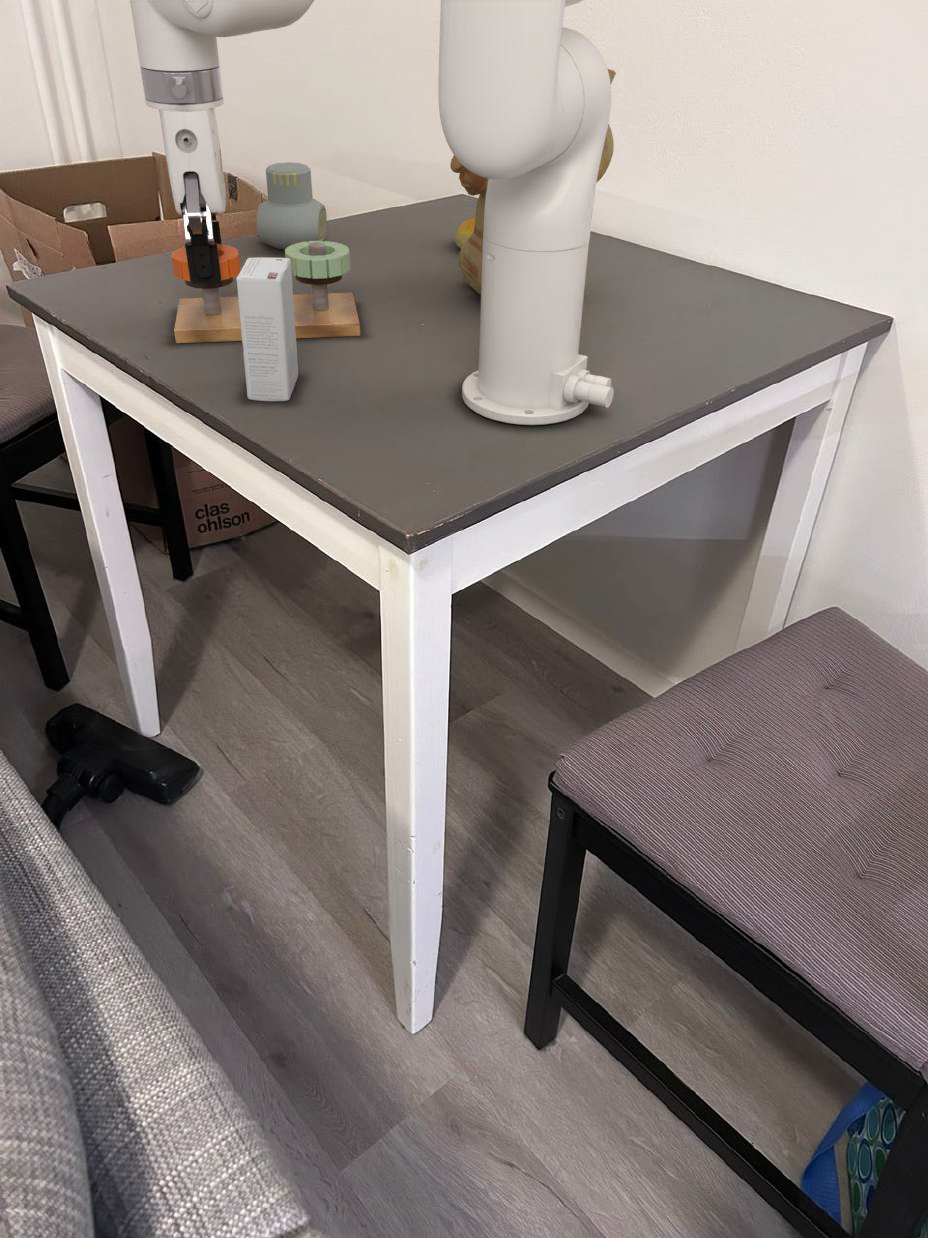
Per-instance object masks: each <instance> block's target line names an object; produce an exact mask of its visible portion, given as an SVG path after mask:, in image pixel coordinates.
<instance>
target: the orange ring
mask: <svg viewBox="0 0 928 1238" xmlns="http://www.w3.org/2000/svg"><path fill="white" fill-rule="evenodd" d="M217 248H218V256H219V264H220V271H221V281H222V280H226V279H230V278H233V279H234V278H235V277H237V276H238V275H239V273H240V271H241V262H240V261H241V260H240V254H239V250H238V248H236V247H234V246H232V245H228V244H223V243H222V244H217ZM171 262H172V268H173V274H174V276H175V277H177V278H178V279H180V280H181V281H184V282H185V281H190V275H189V269H188V262H187V255H186V248H185V246H183V247H182V246H181V247H179V248H177V249H175V250H173V251H172V253H171Z"/></svg>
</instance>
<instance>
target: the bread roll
mask: <svg viewBox="0 0 928 1238" xmlns="http://www.w3.org/2000/svg"><path fill="white" fill-rule="evenodd" d="M474 226H475V217H471V218H469V219H467V220H464V221H463V222H462V223H460V225H459V226H458V227H457V228H456V230H455V234H454V235H455V244H456V246H457V247H458V248H459V249H460V250H461V248H462V246H463V245H464V243H465V242H466V241H467V240H468V239H469V238H470V236H471V235H472V233H473V231H474Z"/></svg>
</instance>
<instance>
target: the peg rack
mask: <svg viewBox="0 0 928 1238" xmlns="http://www.w3.org/2000/svg"><path fill="white" fill-rule="evenodd" d="M309 255H311V256H320V255H326V253H325V244H324V243H320V242H313V243H310V244H309ZM294 278H295V280H296V281H297V282H299V283H302V284H304V285H310V286H311V293H303V294H302V293H301V294H293V303H294V318H295V332H296V339H312V338H313V339H317V338H339V337H340V338H342V337H343V338H344V337H360V336H361V323H360V319H359V314H358V310H357V306H356V301H355V297H354V294H353V292H332V293H331V292H329V287H328V285H331V284H336V283H338V282H340V281H341V280H343V274H342V275H341V276H336V277H332V278H329V277H327V278H321V279H313V278H303V277H298V276H294ZM233 281H234V277H233V278H230V279H226V280H222V281H220V282H218V283H192V282H191V281H185V280H184V284H185V285H186V286H188V287H190V288H193V289H200V290H201V293H202V297H187V298H186V297H185V298H179V299H178V305H177V310H176V316H175V322H174V328H173V334H174V339H175V343H176V344H194V343H195V344H196V343H220V342H221V343H222V342H242V336H241V326H240V315H239V302H238V296H220V290H219V288H224V287H227V286H229V285H231V284H232V283H233Z"/></svg>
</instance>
